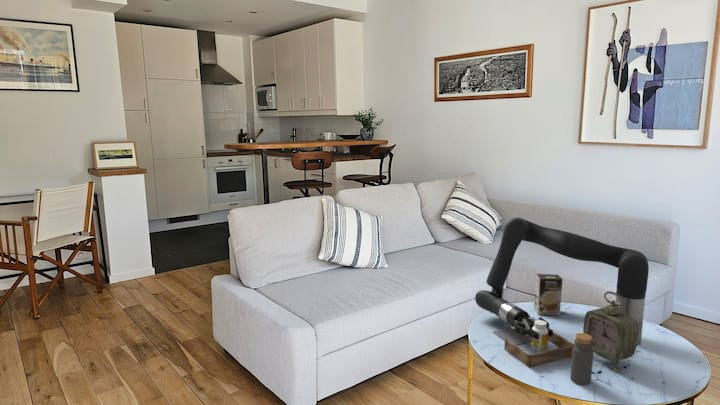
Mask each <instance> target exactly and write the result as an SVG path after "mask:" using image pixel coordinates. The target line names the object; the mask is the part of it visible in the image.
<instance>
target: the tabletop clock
mask: <svg viewBox="0 0 720 405" xmlns="http://www.w3.org/2000/svg"><path fill="white" fill-rule="evenodd" d="M608 294H610V295H614V296H615V297H616V296H618V297H619V298H620V299H621V301H622V303H621V304H615V301H616V300H611V301H610V300H609V299H608V298H607V295H608ZM603 297H604V299H605V301H606V302H607V303H608V304H607V305H605V307H599V308H597V309H596V308H595V309H591V310H587V311H586V313H585V315H584V320H583V326H582V329H583V330H582V333H585V334H588V335H590V336H592V341H591V342H592V347H591V349H592V350H593V354H596V355H598V356H599V357H601V358H603V359H606V360H608V361H610V362H614V363H616V364H615V365H616V367H614V371H615V372H616V373H619V372H621V368H620V367H619V364H620V363H619V362H620V361H624V360H626V359H630V358H633V357H634V355H635V353H636V351H637V346H638V344H637V341H638V323H637V321H636V320H635V319H633V318H632V317H629V316H627V315H625V314H623V313H621V310H620V308H619V307H618V306H621V305H623V299H622V297H621V296H620V295H618V294H617V293H616V292H614V291H610V290H609V291H606V292H605V293H604V295H603Z"/></svg>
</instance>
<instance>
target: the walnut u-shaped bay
mask: <svg viewBox="0 0 720 405" xmlns="http://www.w3.org/2000/svg"><path fill="white" fill-rule="evenodd" d="M548 342H549V343H551V344H553V345H554V346H556V347H557V348H552V349H549V350H548V349H547V350H546V351H538V352H535V353H528V352H527V351H526V350H524V349H523V348H521V347H520V346H519V345H516V344H514V343H513V342H511V341H510V340H508V339H505V341H504V351H506V352H507V353H509V355H511V356H512V357H514V358H515V359H516V360H518V361H519V362H521V363H522V364H523V365H525V366H526V367H528V368H532V367H536V366H541V365H545V364H550V363H554V362H558V361H561V360H567V359H570V358H571V359H572V349H573V347H574V346H575V344H574V342H571V341H570V340H568V339H567V338H565V337H564V336H561V335H559V334H558V333H557V332H554V331H553V336H551V337H550V336H549V335H548Z"/></svg>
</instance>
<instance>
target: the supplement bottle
mask: <svg viewBox="0 0 720 405" xmlns="http://www.w3.org/2000/svg"><path fill="white" fill-rule="evenodd" d="M535 320H536V321H535V322H534V326H533V327H532V330H534V331H535V332H537V333H538V334H539V339H537V340H536V339H535V338H533V337H531V342H530V347H531V349H533V350H534V351H536V352H543V351H548V342H549V341H548V329H547V328H546V326H547V323H546V322H545V321H546V320H545V321H542V320H537V319H535Z"/></svg>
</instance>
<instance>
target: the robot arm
mask: <svg viewBox="0 0 720 405" xmlns="http://www.w3.org/2000/svg"><path fill="white" fill-rule="evenodd" d="M522 241H524V242H529V243H533V244H536V245H539V246H542V247H544V248H546V249H548V250H550V251H551V252H554V253H556V254H559V255H562V256H565V257H567V258H570V259H573V260H578V261H583V262H584V261H585V262H595V263H603V264H604V265H605V264H606V265H609V266H611V267H614V268H617V280H616V290H615V291H616V292H615V293H617V294H618V295H620V296H621V297H622V299H623V305H621V306H618V307H619V308H620V310H621V313H623V314H625V315H627V316H629V317H632V318H633V319H635V320H636V321H637V323H638V341H637V345H639V346H640V345H641V343H642V333H643V325H644V313H645V305H646V304H645V302H646V293H647V289H648V281H649V280H648V279H649V273H650V272H649V268H650V266H649V260H648V258H647V256H646V255H645V254H643V253H642V252H640V251H638V250H635V249H630V248H625V247H620V246H615V245H611V244H607V243H604V242H601V241H598V240H596V239H592V238H590V237H586V236H584V235H583V236H582V235H579V234H576V233H573V232H568V231H565V230H561V229H555V228H551V227H546V226H542V225H539V224H536V223H534V222H532V221H529V220H526V219H524V218H522V217H513V218H509V220H507V221H506V222H505V224H504V227H503V232H502V238H501V241H500V244H499V248H498V251H497V253H496V257H494V258H495V259H494V260H493V263H492V264H491V265H492V266H491V268H490V270H489V272H488V276H487V278H486V285H488V286H490V287H491V291H490V290H486V289H485V290H484V289H481V290H478V292H476V294H475V296H474V300H475V303H476V304H477V306H478V307H479V308H481V309H483V310H485V311H487V312H489V313H492V314H494V315H496V317H498V318H500V319H501V320H502V321H503V322H505V323H506V324H508V325H509V326H510V327H509V328H510V330H512V331H514V332H516V333H518V334H520V335H522V336H524V335H525V334H526V335H528V336H529V335H530V336H531V337H533V338H535V339H536V340H537V339H539V334H538V333H537V332H535V331H534V330H532V327H533V326H534V322H535V321H536V320H542V321H545V322H546V323H547V326H546V328H547V329H548V335H549V336H550V337H551V336H553V332H554V330H553V329H551V328H550V323H549V322H548V321H547V320H545V319H544V318H543V317H541V316H540V317H538V318H537V319H535V317H531V315H530V314H529V313H528V311H526V310H524V309H523V308H521V307H519V306H517V305H516V304H514V303H511V302H509V301H508V300H506V299H504V298H503V296H504V295H503V294H504V285H505V283H506V281H507V279H508V276H509V273H510V270H511V267H512V265H513V264H512V262H513V260H514V256H515V254H516V252H517V249H518V248H519V247H520V244H521V243H522ZM614 301H615V304H621V303H622V301H621V299H620V298H619V297H618V296H616V295H615V300H614ZM520 330H521V331H520Z"/></svg>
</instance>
